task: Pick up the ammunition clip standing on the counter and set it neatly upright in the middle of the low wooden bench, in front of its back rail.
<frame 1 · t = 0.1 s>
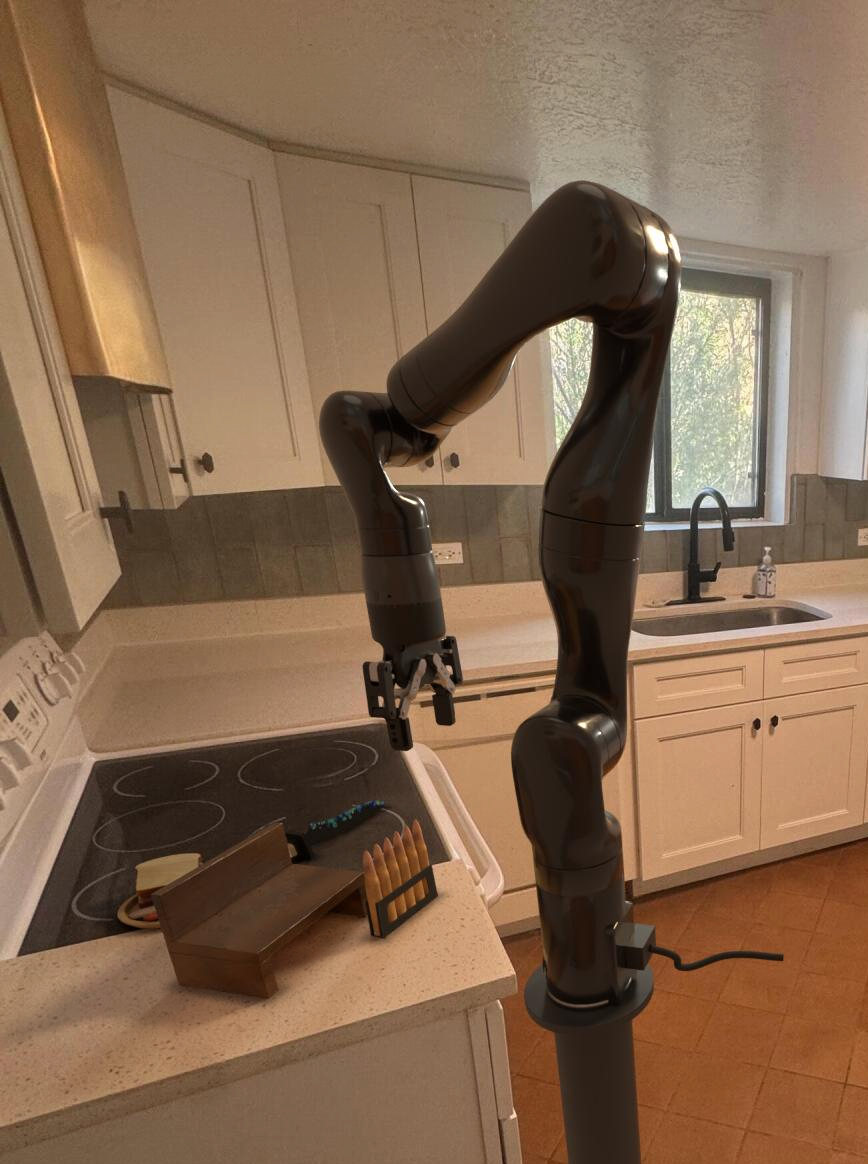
hand: (425, 736, 90), 27 cm above the countertop, tool pointing down, fingers open, 8 cm apart
ammunition clip: (406, 916, 103), on the countertop
wooden bench: (282, 945, 97), on the countertop
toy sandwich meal: (175, 906, 105), on the countertop
knife: (321, 849, 120), on the countertop
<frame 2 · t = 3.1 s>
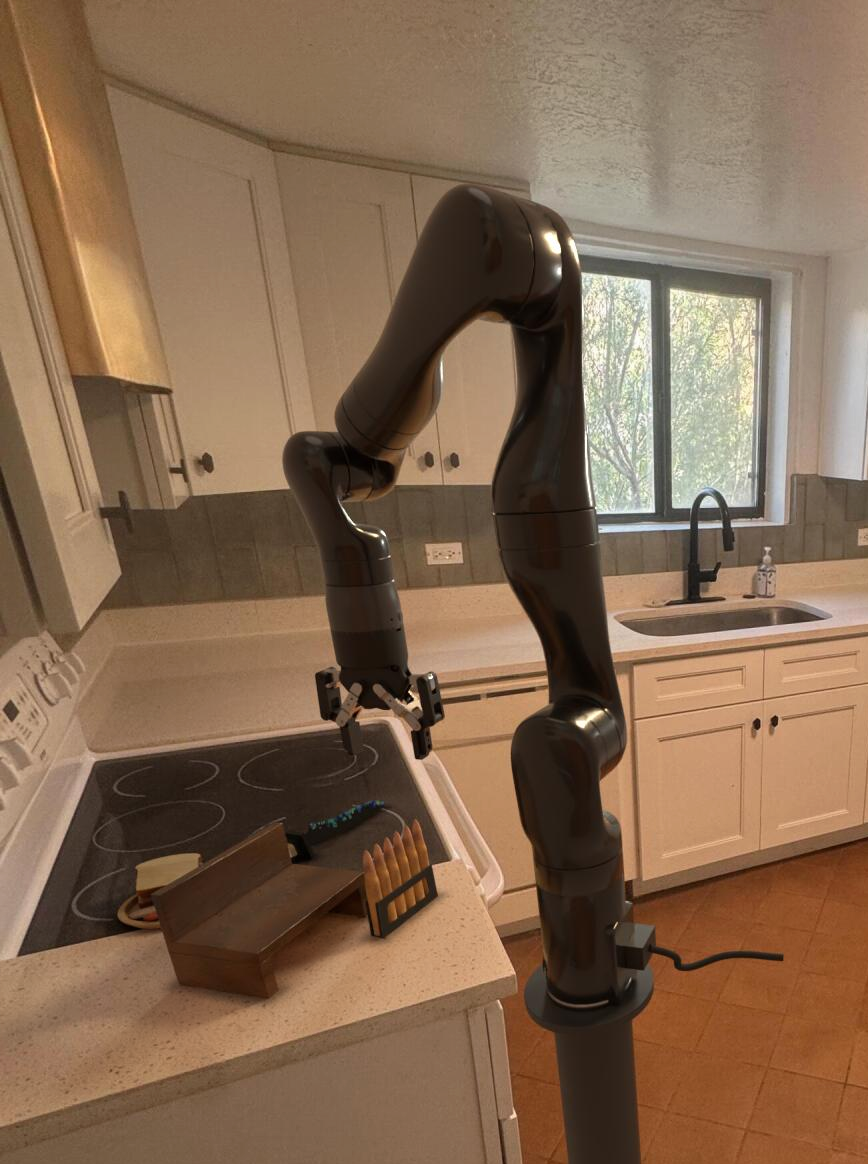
hand: (389, 755, 94), 23 cm above the countertop, tool pointing down, fingers open, 8 cm apart
nothing on the countertop moved.
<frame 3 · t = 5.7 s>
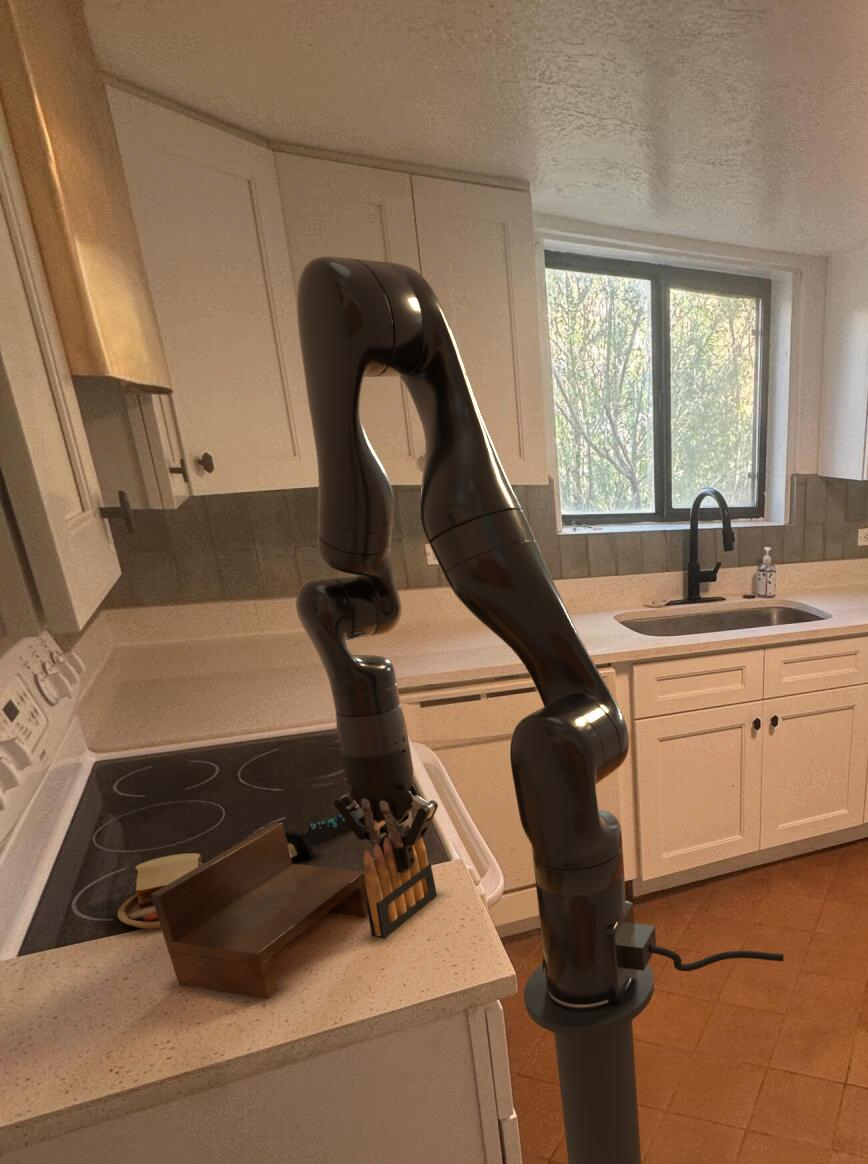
hand: (397, 868, 100), 7 cm above the countertop, tool pointing down, fingers closed on ammunition clip, 2 cm apart
ammunition clip: (406, 916, 103), on the countertop, touching gripper
everything else where it was.
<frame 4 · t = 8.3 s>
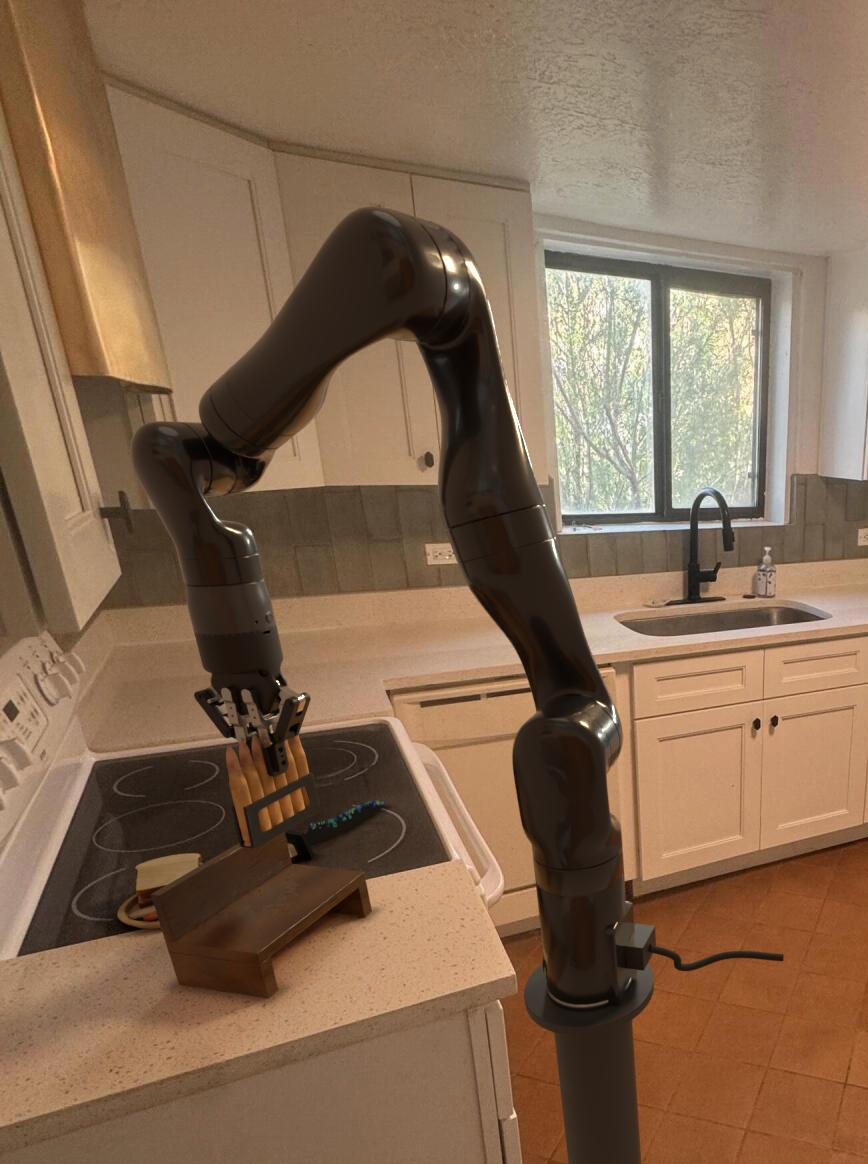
hand: (269, 772, 90), 23 cm above the countertop, tool pointing down, fingers closed on ammunition clip
ammunition clip: (283, 829, 92), point 16 cm above the countertop, touching gripper
everything else where it was.
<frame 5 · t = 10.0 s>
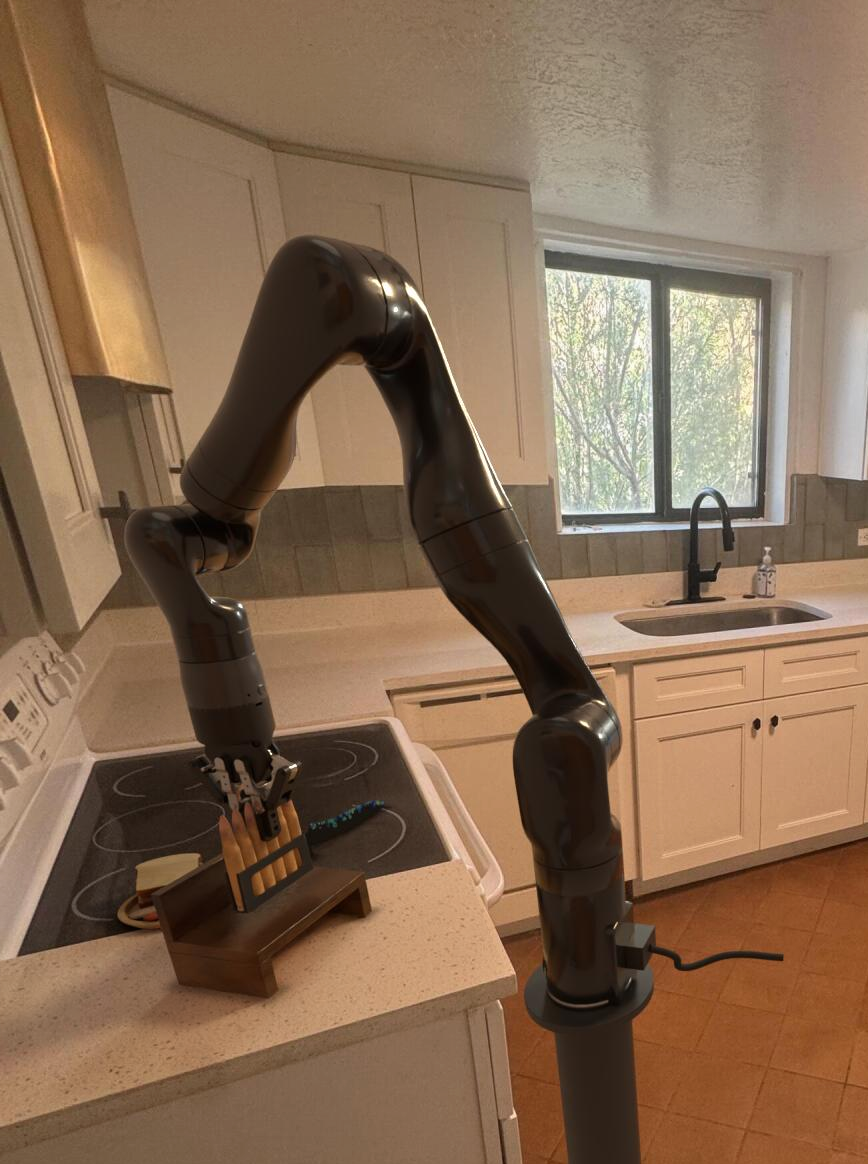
hand: (262, 837, 91), 15 cm above the countertop, tool pointing down, fingers closed on ammunition clip
ammunition clip: (276, 890, 94), point 8 cm above the countertop, touching gripper
everything else where it was.
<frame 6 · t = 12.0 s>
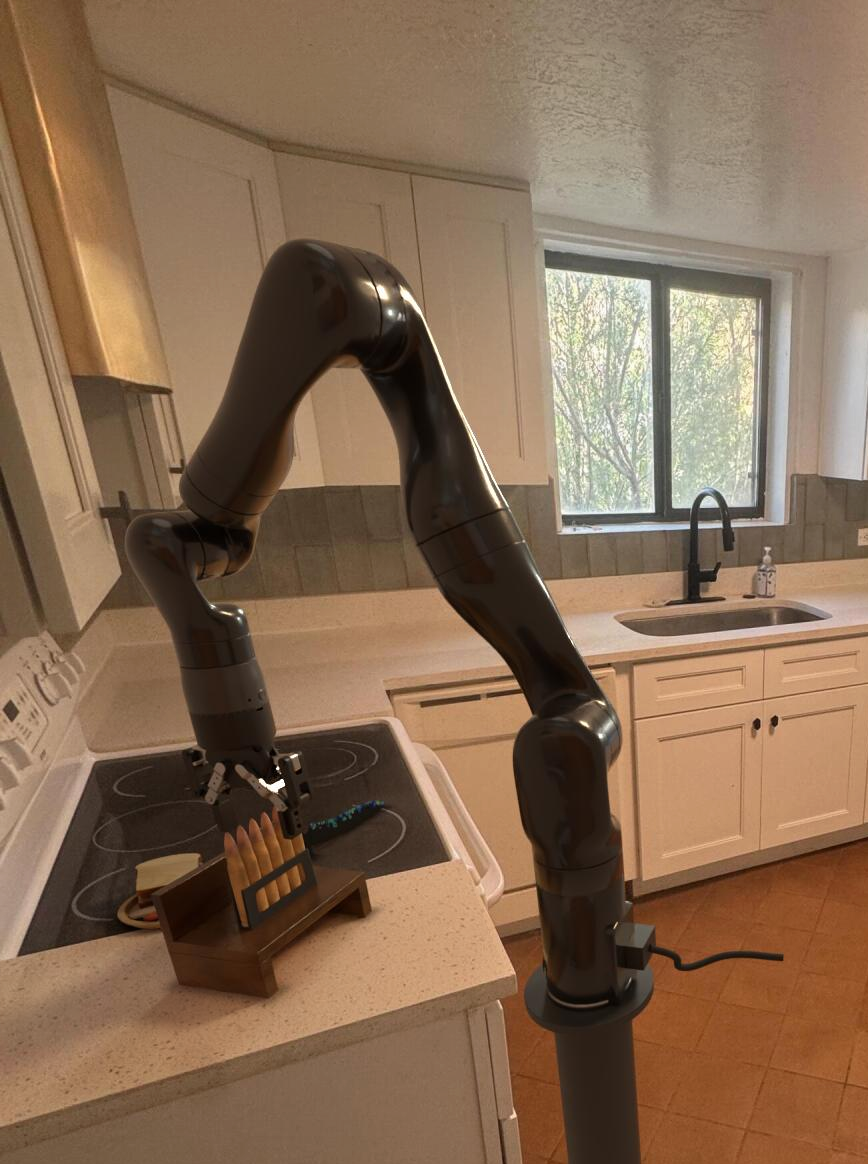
hand: (262, 833, 91), 16 cm above the countertop, tool pointing down, fingers open, 8 cm apart
ammunition clip: (280, 906, 94), point 6 cm above the countertop, touching wooden bench
everything else where it was.
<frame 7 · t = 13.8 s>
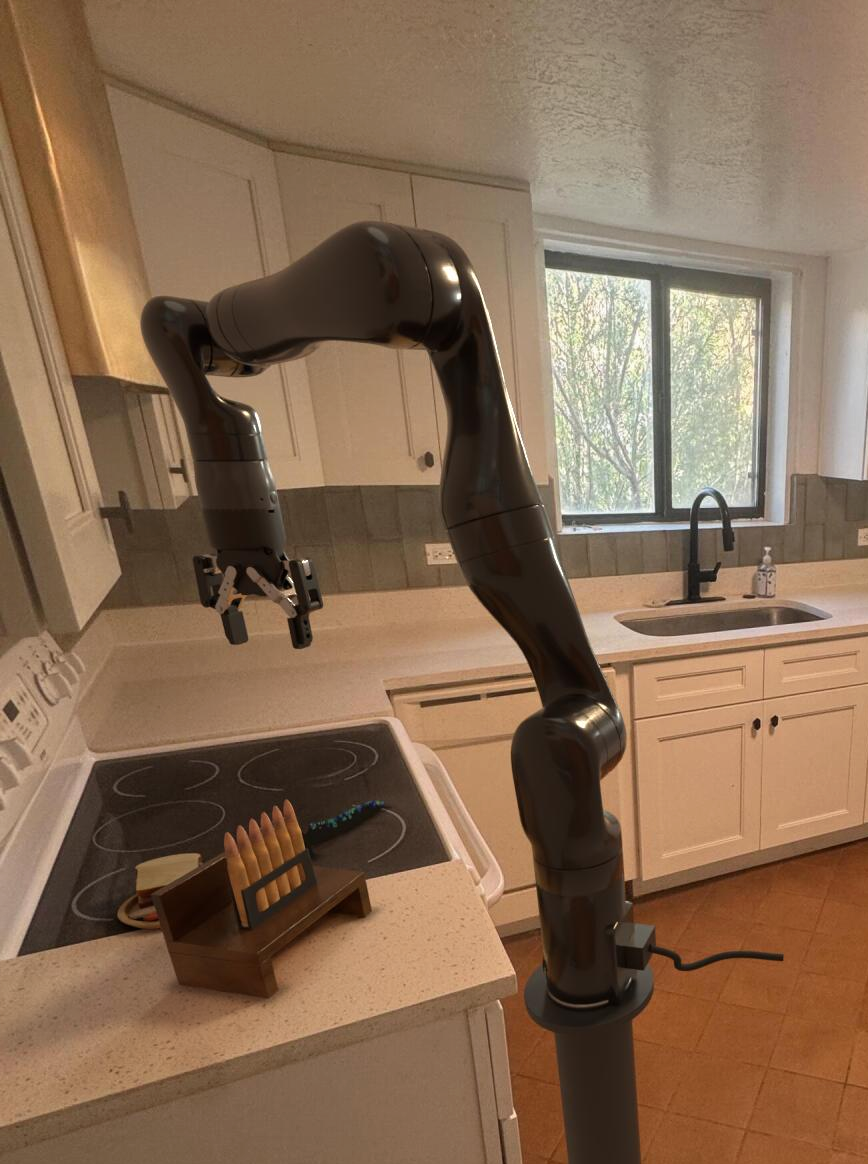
hand: (271, 645, 93), 36 cm above the countertop, tool pointing down, fingers open, 8 cm apart
nothing on the countertop moved.
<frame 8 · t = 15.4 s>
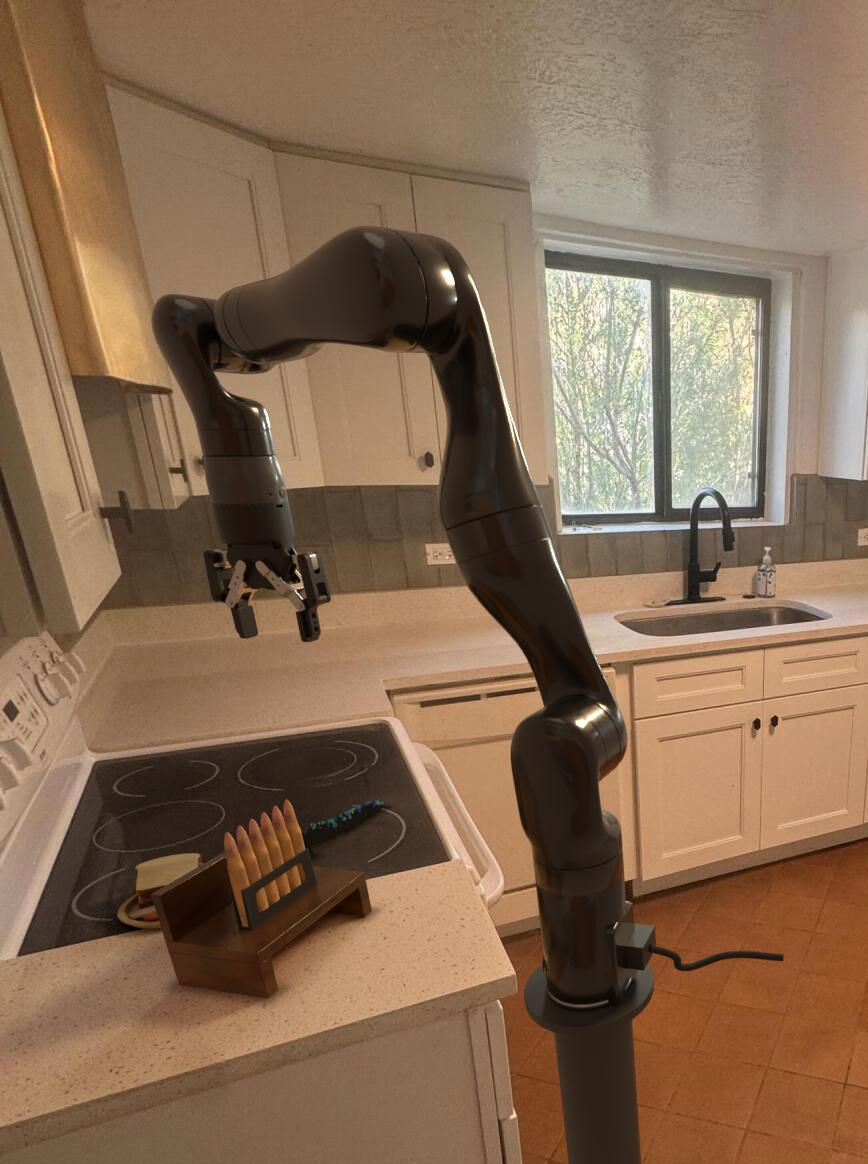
hand: (280, 639, 94), 36 cm above the countertop, tool pointing down, fingers open, 8 cm apart
nothing on the countertop moved.
at the end: ammunition clip inside the target area on the wooden bench (1.1 cm from its centre), point 5.8 cm above the wooden bench's base; ammunition clip tilted 0°; the gripper is holding nothing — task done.
